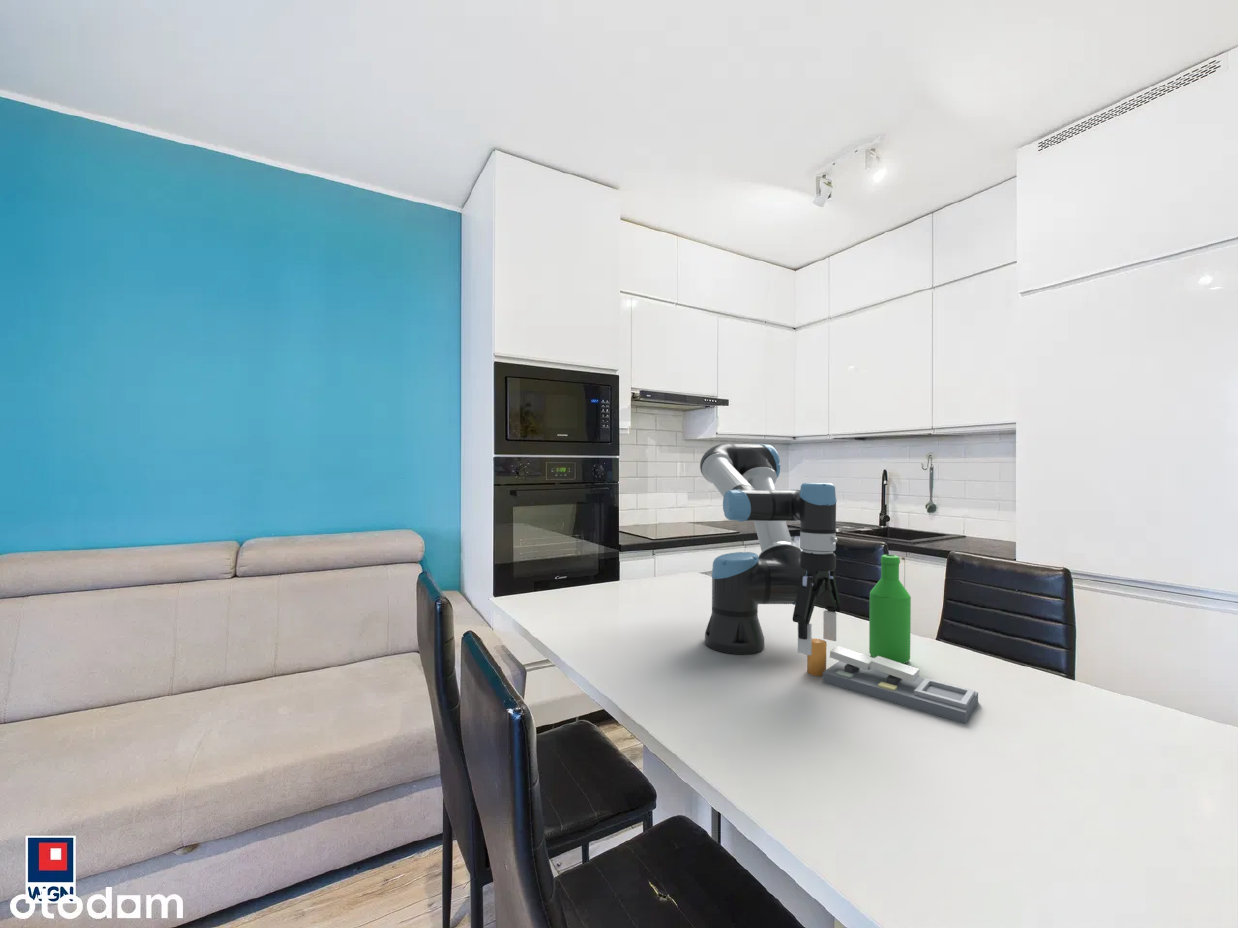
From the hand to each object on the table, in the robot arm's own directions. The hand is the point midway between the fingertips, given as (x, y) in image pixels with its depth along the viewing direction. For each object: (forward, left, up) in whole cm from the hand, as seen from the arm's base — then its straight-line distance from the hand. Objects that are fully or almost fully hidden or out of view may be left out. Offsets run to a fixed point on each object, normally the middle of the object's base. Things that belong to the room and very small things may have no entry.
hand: (817, 646), depth 117 cm
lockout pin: (0, 0, -6) cm, 6 cm away
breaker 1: (+7, +2, -1) cm, 7 cm away
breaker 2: (+15, +2, -1) cm, 15 cm away
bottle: (+9, +21, -6) cm, 24 cm away
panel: (+16, +2, -6) cm, 17 cm away
